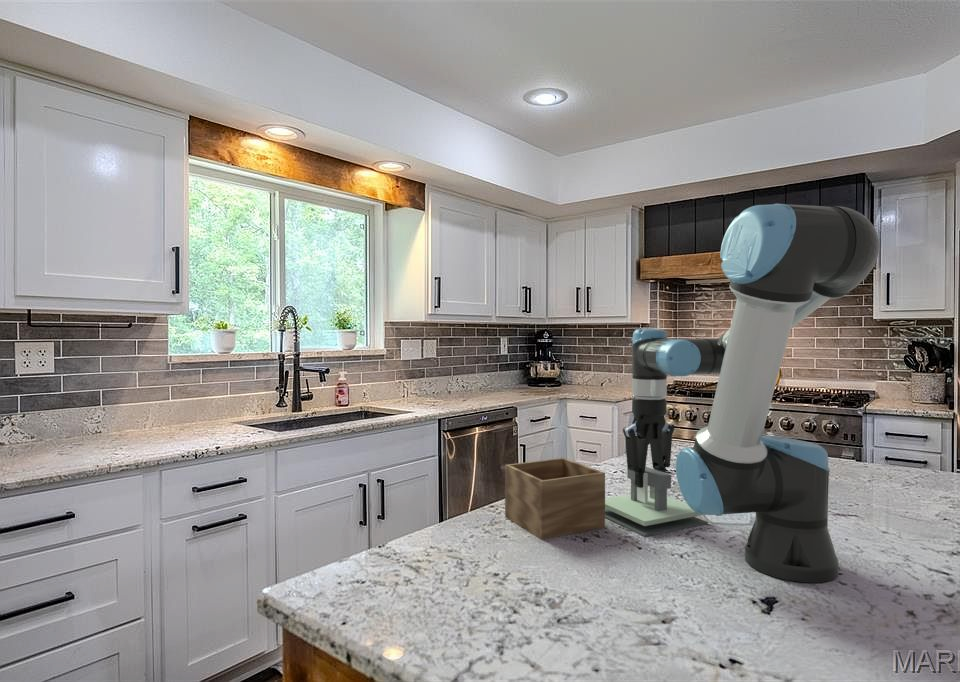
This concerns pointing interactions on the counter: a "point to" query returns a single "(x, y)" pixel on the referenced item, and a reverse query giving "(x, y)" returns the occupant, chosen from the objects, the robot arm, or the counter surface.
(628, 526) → the mat
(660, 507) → the lid
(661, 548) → the counter surface
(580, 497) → the crate
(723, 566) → the counter surface
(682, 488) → the robot arm
